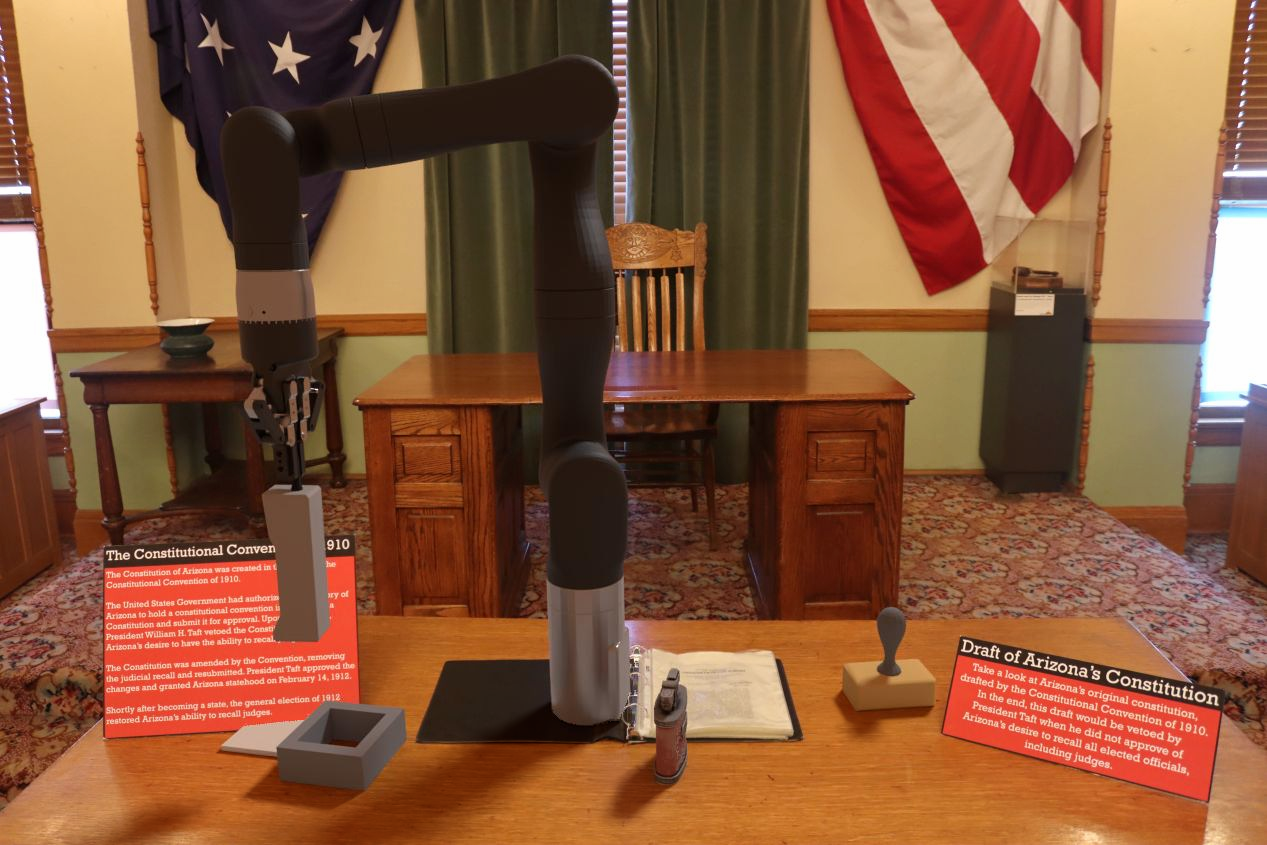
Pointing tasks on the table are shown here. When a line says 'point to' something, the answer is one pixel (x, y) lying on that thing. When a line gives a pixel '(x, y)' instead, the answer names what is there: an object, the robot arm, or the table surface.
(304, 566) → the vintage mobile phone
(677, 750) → the lighter
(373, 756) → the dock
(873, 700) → the rubber stamp
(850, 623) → the table surface
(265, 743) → the tile
